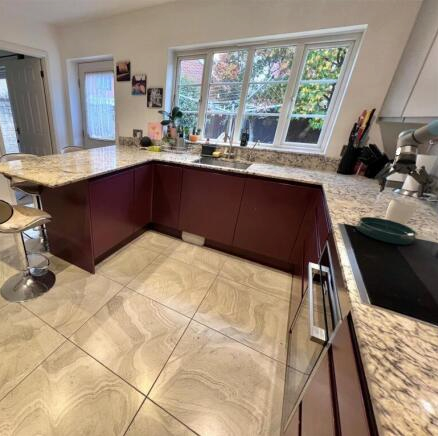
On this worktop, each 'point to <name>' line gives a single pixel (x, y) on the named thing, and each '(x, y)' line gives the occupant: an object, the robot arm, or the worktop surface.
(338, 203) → the worktop surface
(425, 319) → the worktop surface
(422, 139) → the robot arm
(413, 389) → the worktop surface
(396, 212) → the cup
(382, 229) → the bowl
